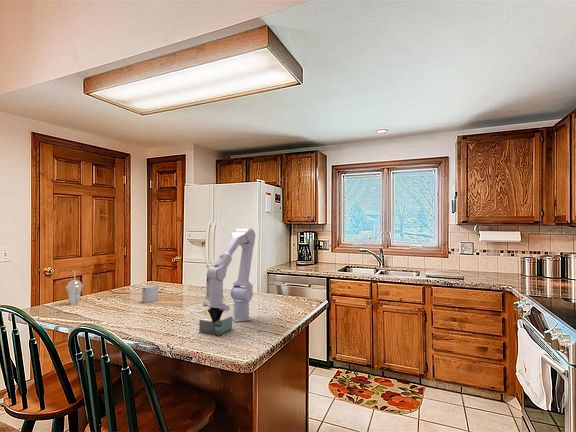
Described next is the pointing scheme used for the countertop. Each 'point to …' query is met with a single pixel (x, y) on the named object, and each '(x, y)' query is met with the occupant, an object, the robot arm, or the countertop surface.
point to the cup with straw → (74, 290)
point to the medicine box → (149, 294)
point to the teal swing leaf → (225, 325)
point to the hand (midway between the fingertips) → (215, 325)
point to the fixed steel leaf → (210, 327)
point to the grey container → (207, 289)
